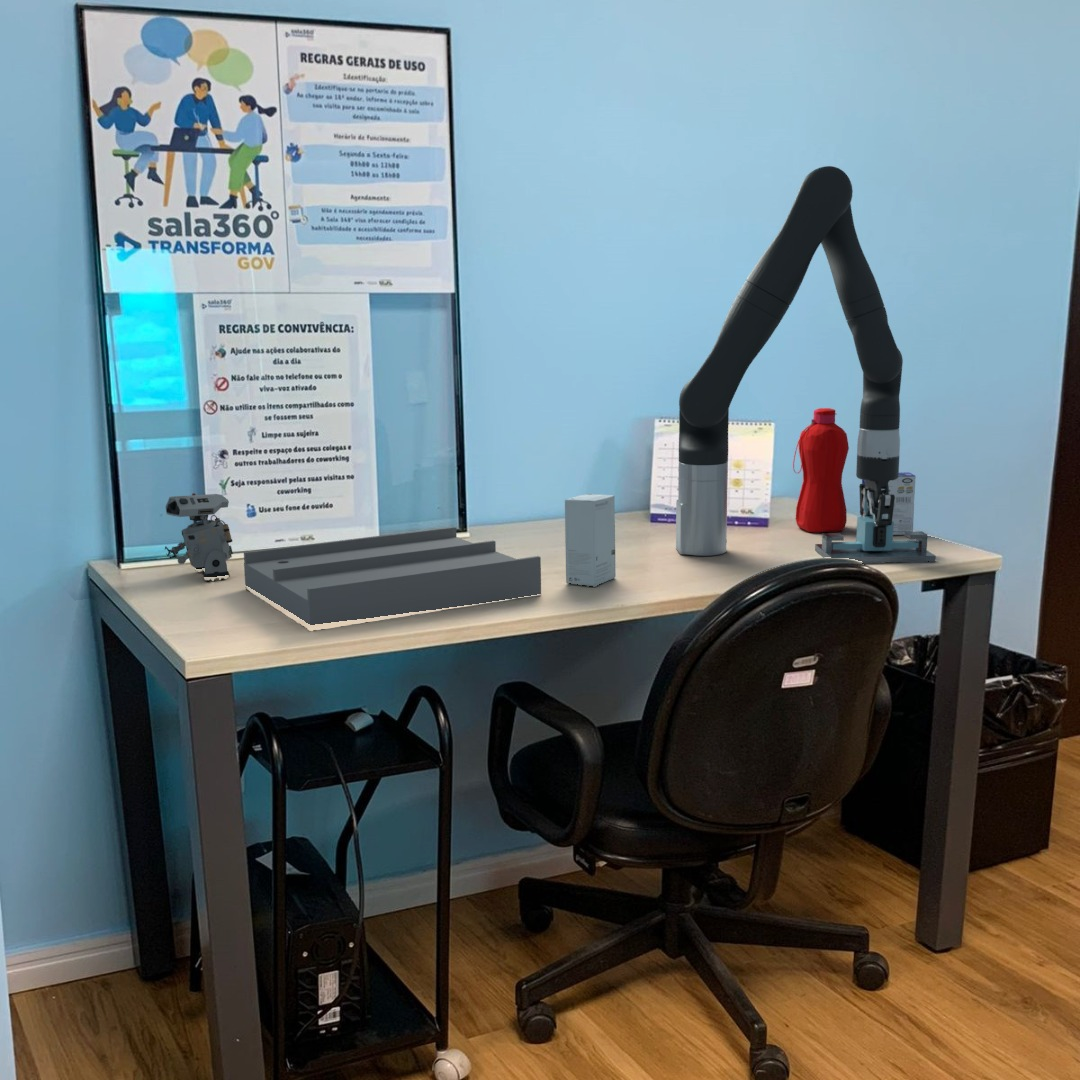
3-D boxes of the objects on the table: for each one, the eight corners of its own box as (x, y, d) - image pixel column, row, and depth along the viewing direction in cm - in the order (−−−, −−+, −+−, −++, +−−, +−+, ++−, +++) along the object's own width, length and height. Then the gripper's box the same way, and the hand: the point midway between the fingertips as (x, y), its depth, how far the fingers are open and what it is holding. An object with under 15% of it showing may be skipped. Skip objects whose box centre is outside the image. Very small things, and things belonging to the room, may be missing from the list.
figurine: (162, 575, 221) (156, 493, 218) (227, 568, 226) (222, 488, 223) (171, 586, 213) (165, 501, 210) (238, 578, 218) (233, 495, 215)
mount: (831, 564, 223) (833, 530, 222) (814, 550, 235) (816, 518, 234) (935, 562, 224) (937, 528, 223) (913, 548, 236) (914, 516, 234)
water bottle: (783, 526, 258) (786, 407, 253) (832, 524, 260) (836, 405, 255) (800, 535, 249) (803, 411, 244) (851, 532, 251) (855, 409, 246)
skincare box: (595, 588, 208) (594, 501, 205) (563, 584, 211) (562, 498, 208) (617, 577, 215) (616, 493, 212) (586, 574, 218) (585, 491, 215)
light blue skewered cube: (835, 551, 226) (836, 522, 225) (827, 545, 231) (828, 517, 230) (921, 549, 227) (922, 521, 226) (911, 543, 232) (913, 515, 231)
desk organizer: (541, 598, 204) (540, 556, 202) (310, 634, 184) (308, 589, 182) (455, 563, 230) (454, 526, 229) (245, 591, 210) (243, 552, 209)
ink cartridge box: (907, 530, 253) (910, 460, 250) (914, 535, 247) (918, 464, 244) (858, 530, 253) (861, 460, 250) (865, 536, 248) (868, 464, 245)
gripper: (846, 448, 232) (843, 536, 236) (869, 458, 218) (865, 552, 222) (886, 447, 233) (882, 535, 236) (911, 458, 219) (907, 551, 222)
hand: (874, 543), depth 229 cm, fingers closed on light blue skewered cube, 5 cm apart
